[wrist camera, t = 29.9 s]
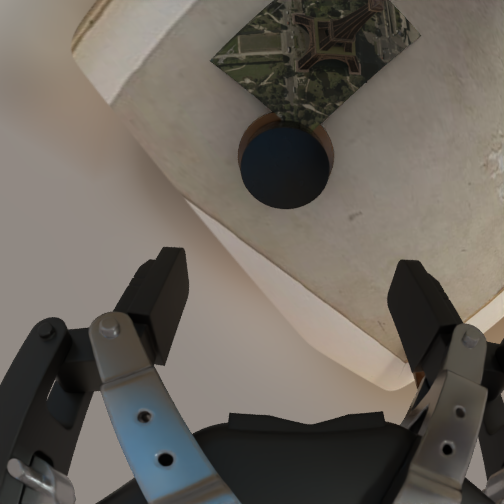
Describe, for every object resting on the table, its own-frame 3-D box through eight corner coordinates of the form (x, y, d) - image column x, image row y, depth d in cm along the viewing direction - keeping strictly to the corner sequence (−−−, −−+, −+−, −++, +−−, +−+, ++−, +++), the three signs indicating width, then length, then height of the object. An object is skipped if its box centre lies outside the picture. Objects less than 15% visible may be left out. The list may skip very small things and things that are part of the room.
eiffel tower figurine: (334, -46, 14) (382, -128, 2) (421, 35, 17) (527, 17, 5) (210, 61, 20) (146, 29, 8) (305, 141, 23) (345, 195, 11)
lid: (257, 108, 21) (254, 114, 19) (338, 135, 22) (343, 144, 20) (235, 181, 25) (230, 195, 23) (308, 204, 26) (310, 219, 24)
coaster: (327, 202, 26) (328, 205, 26) (238, 197, 27) (237, 199, 26) (336, 114, 22) (338, 115, 21) (239, 108, 22) (238, 108, 22)
